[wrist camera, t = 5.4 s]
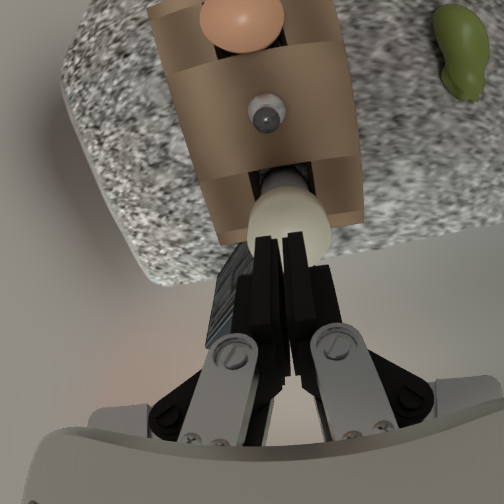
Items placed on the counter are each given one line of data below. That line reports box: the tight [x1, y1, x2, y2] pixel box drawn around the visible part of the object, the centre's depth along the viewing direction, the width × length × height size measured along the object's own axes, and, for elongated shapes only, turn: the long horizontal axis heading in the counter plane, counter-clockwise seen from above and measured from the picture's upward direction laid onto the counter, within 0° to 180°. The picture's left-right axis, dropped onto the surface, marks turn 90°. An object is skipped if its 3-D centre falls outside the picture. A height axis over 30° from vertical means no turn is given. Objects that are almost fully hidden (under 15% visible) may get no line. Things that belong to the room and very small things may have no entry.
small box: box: [205, 241, 315, 349], centre depth 28 cm, size 11×6×10 cm, turn 151°
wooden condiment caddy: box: [146, 0, 364, 245], centre depth 20 cm, size 12×20×6 cm, turn 13°
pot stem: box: [248, 93, 286, 134], centre depth 15 cm, size 2×2×5 cm
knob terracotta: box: [200, 0, 284, 54], centre depth 15 cm, size 5×5×8 cm
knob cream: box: [247, 166, 332, 272], centre depth 19 cm, size 5×5×8 cm
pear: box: [433, 4, 490, 104], centre depth 15 cm, size 6×5×10 cm
